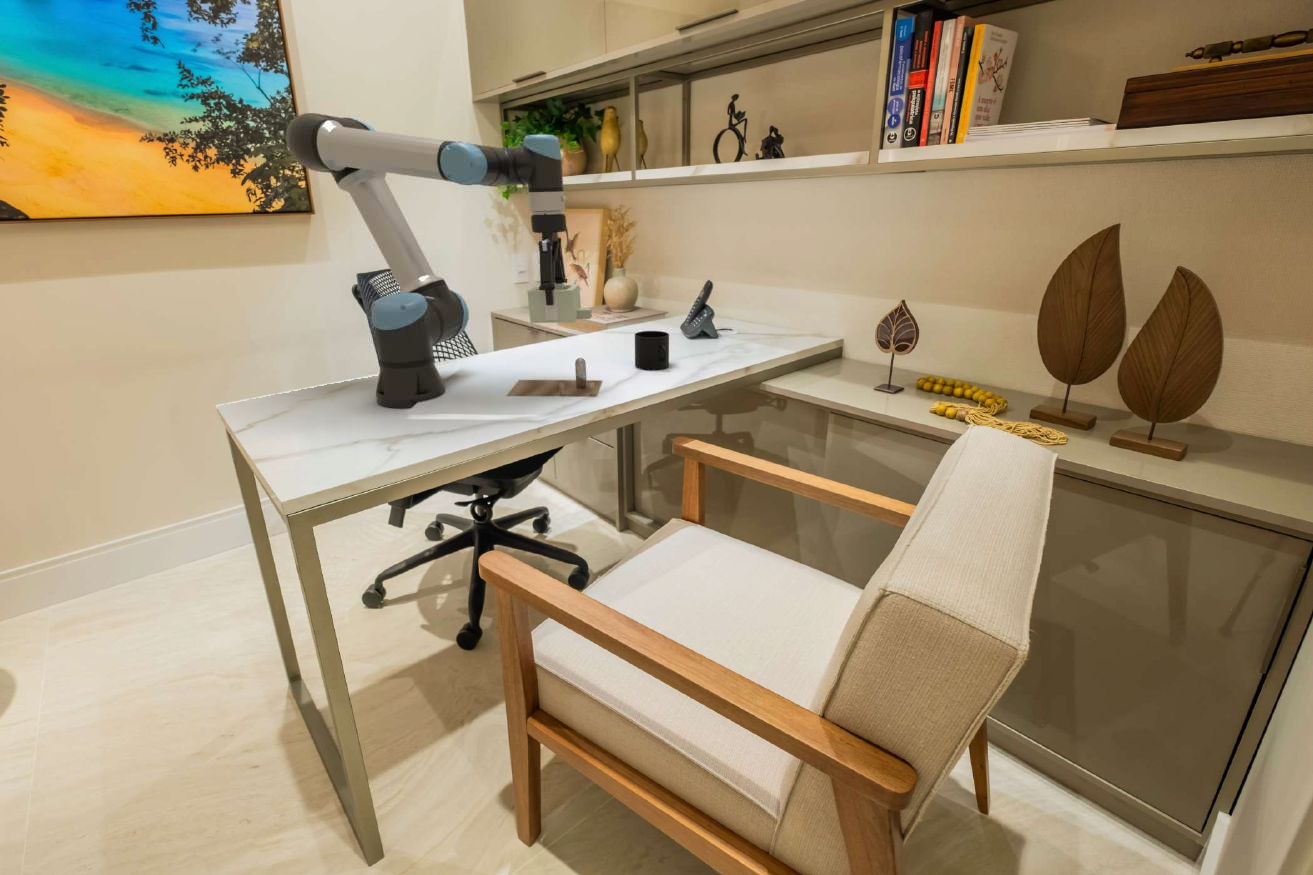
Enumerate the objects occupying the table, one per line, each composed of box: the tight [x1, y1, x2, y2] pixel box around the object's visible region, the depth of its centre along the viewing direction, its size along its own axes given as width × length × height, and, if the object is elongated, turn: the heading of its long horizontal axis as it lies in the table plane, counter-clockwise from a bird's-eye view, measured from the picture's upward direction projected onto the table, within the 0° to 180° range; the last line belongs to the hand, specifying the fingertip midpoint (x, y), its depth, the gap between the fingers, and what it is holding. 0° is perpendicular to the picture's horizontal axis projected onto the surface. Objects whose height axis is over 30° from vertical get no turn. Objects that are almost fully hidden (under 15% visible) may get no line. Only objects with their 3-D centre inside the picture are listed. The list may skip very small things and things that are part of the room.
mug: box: [634, 330, 670, 371], centre depth 172 cm, size 9×12×9 cm
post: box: [574, 357, 587, 389], centre depth 150 cm, size 2×2×7 cm
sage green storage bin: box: [526, 284, 593, 324], centre depth 144 cm, size 13×10×7 cm
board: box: [505, 379, 603, 398], centre depth 151 cm, size 21×13×4 cm, turn 89°
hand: (556, 315), depth 145 cm, fingers closed on sage green storage bin, 10 cm apart
